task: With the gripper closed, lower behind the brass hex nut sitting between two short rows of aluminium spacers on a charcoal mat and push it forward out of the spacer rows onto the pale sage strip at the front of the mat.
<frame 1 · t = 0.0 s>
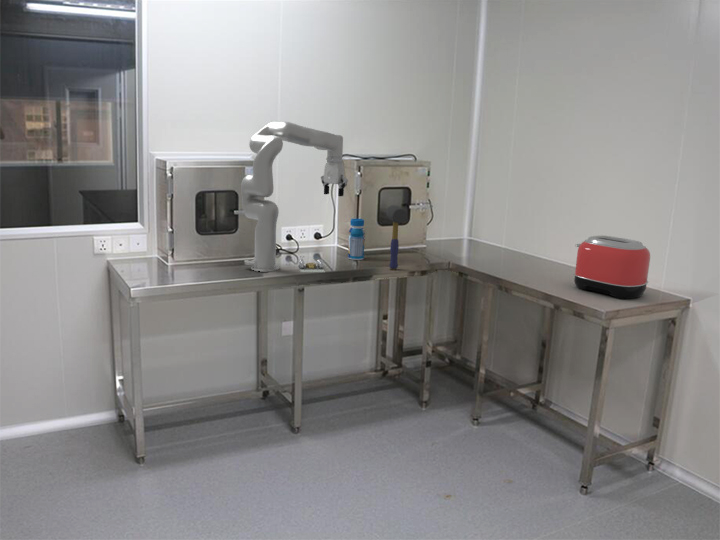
hand: (333, 195, 326), 31 cm above the table, tool pointing down, fingers open, 9 cm apart
spacer rows: (310, 264, 304), on the spacer board, point 2 cm above the table
beverage bottle: (355, 259, 331), on the table
brass nut: (310, 267, 304), point 1 cm above the table, touching spacer board
rubber mallet: (393, 269, 310), on the table
toaster: (605, 291, 284), on the table
spacer board: (311, 270, 301), on the table
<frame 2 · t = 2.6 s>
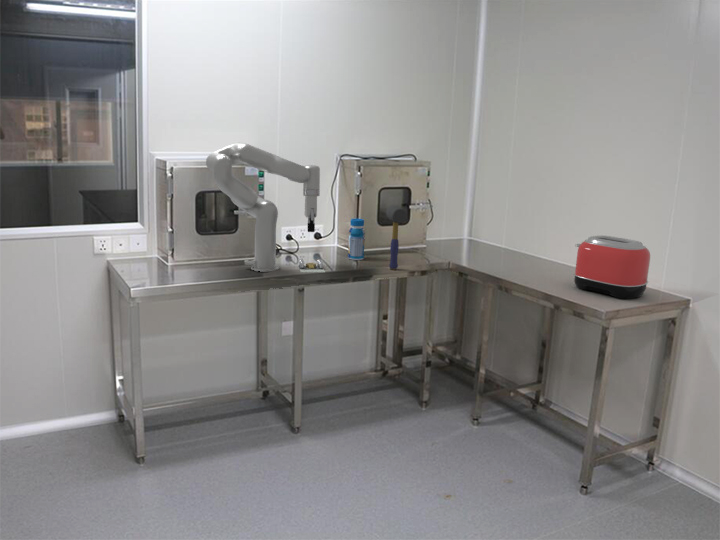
hand: (311, 231, 307), 16 cm above the table, tool pointing down, fingers closed
nothing on the table moved.
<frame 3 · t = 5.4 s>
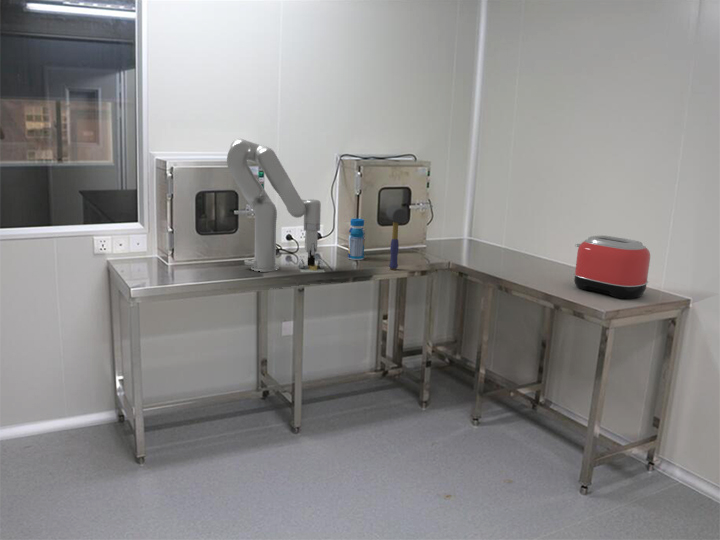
hand: (311, 265, 304), 1 cm above the table, tool pointing down, fingers closed
brass nut: (313, 269, 301), point 1 cm above the table, touching gripper, spacer board
everything else where it was.
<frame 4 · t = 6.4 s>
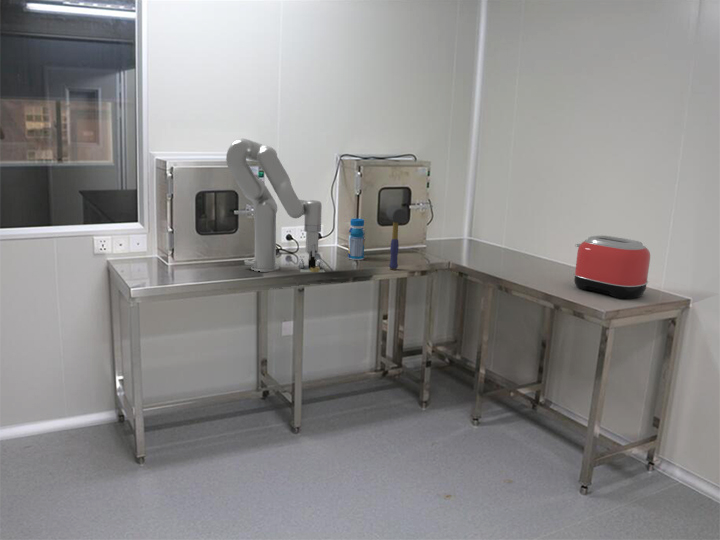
hand: (311, 267, 300), 1 cm above the table, tool pointing down, fingers closed
brass nut: (314, 271, 297), point 1 cm above the table, touching gripper, spacer board
everything else where it was.
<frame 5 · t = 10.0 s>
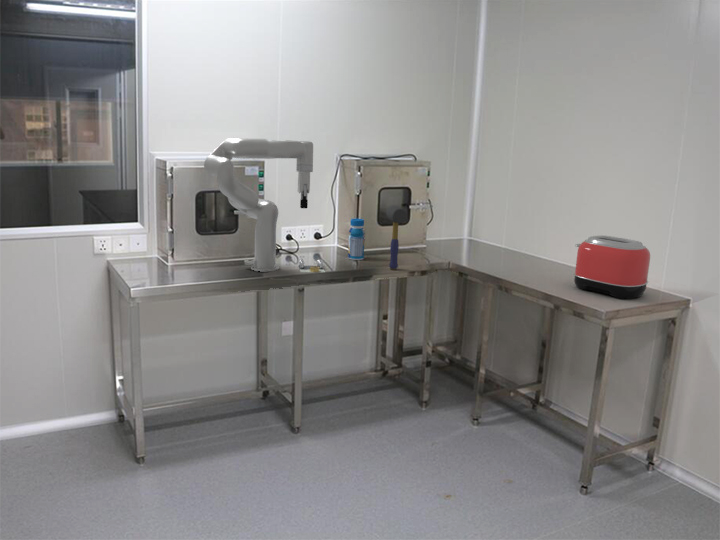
hand: (303, 208, 306), 27 cm above the table, tool pointing down, fingers closed
brass nut: (314, 271, 297), point 1 cm above the table, touching spacer board
everything else where it was.
at the end: brass nut 1.0 cm from the target spot on the spacer board, point 0.6 cm above the spacer board's base; brass nut moved 7.1 cm from its start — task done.
